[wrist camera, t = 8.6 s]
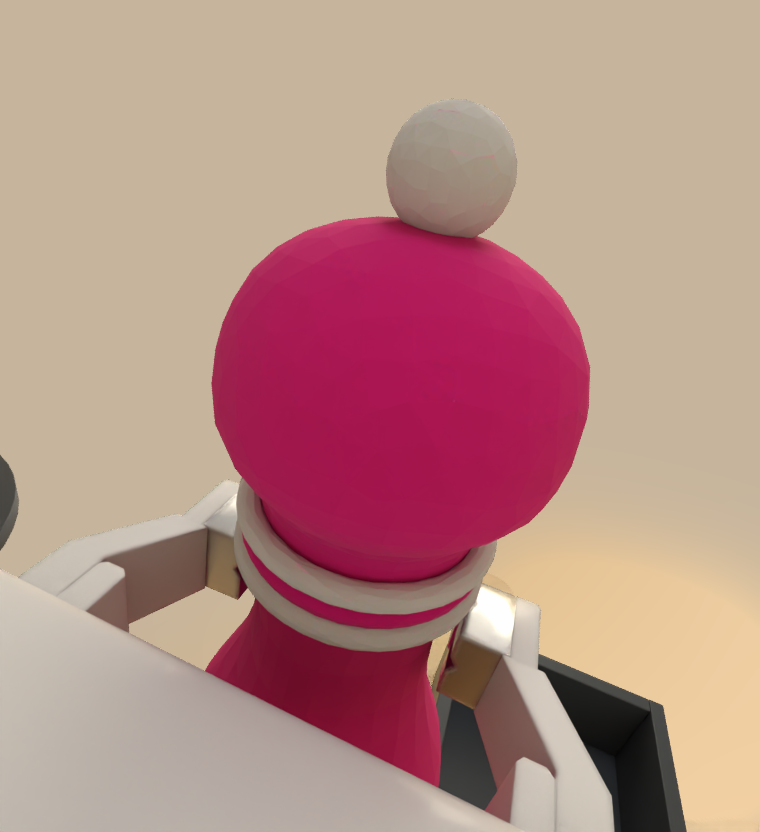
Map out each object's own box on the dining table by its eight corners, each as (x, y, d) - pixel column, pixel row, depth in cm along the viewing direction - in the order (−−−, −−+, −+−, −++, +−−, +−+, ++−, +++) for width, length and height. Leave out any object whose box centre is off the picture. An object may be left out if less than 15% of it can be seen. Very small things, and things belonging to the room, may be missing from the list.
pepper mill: (375, 696, 20) (557, 145, 10) (431, 946, 14) (980, 192, 4) (184, 719, 18) (193, 51, 8) (154, 1027, 12) (61, -109, 2)
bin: (375, 900, 23) (400, 848, 20) (435, 672, 34) (457, 619, 31) (652, 1054, 21) (722, 1018, 18) (622, 755, 31) (663, 705, 29)
